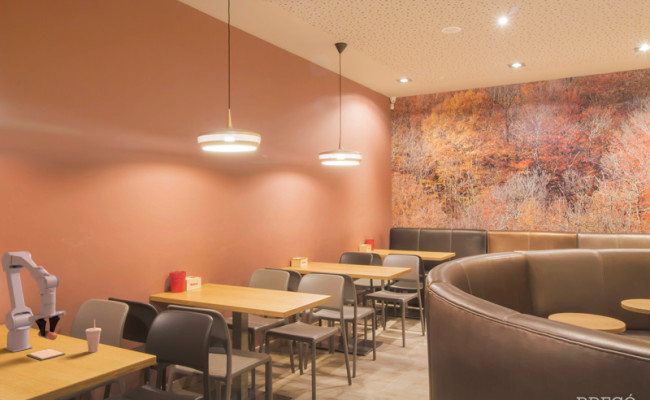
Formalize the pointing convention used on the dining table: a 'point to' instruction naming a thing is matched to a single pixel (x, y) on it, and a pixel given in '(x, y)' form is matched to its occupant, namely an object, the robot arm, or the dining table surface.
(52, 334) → the marker
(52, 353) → the notepad
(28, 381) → the dining table surface
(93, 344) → the smoothie
